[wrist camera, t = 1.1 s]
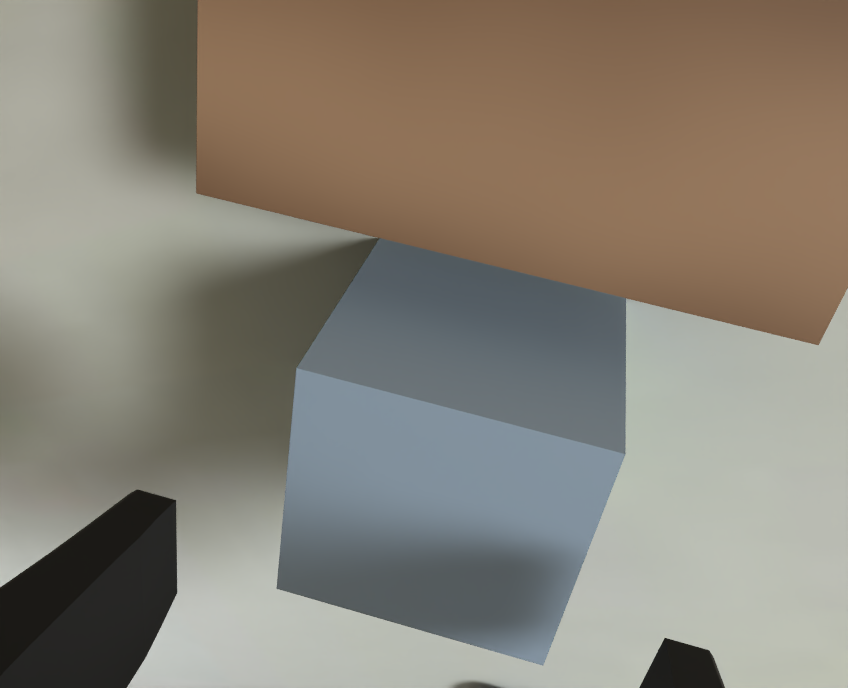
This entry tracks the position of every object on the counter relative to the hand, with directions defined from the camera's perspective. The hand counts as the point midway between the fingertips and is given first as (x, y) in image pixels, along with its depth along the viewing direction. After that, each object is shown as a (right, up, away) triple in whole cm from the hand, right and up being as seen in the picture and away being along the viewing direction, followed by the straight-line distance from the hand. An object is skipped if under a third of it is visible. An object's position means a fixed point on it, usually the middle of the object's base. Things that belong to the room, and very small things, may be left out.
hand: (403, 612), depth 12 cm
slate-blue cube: (+1, +3, +6) cm, 7 cm away
